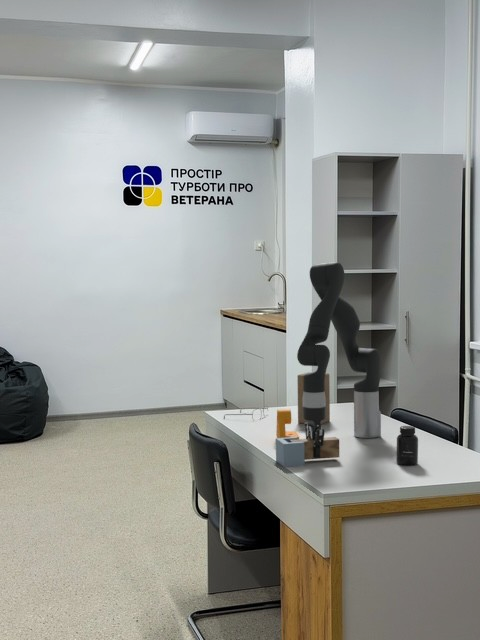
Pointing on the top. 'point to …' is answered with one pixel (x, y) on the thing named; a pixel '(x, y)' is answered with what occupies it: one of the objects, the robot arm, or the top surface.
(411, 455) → the supplement bottle
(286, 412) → the bracket
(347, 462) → the top surface
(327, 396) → the wooden block
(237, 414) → the eyeglasses
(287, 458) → the grey u-channel
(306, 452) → the rail
